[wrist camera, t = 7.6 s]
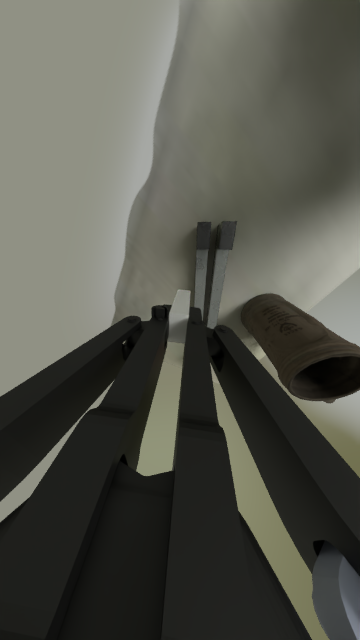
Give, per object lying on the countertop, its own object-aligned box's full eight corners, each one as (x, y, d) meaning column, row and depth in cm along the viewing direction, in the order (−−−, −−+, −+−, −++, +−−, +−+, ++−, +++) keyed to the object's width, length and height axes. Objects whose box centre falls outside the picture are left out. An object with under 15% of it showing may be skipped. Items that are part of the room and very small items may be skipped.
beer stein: (230, 310, 34) (270, 382, 17) (271, 281, 30) (377, 339, 13) (260, 343, 40) (314, 422, 23) (299, 322, 35) (402, 402, 18)
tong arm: (201, 326, 37) (202, 337, 33) (193, 326, 38) (193, 337, 33) (208, 225, 26) (211, 221, 21) (197, 226, 26) (197, 222, 22)
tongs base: (209, 351, 42) (211, 365, 37) (193, 350, 42) (193, 363, 37) (229, 225, 26) (237, 221, 21) (203, 226, 26) (205, 221, 22)
